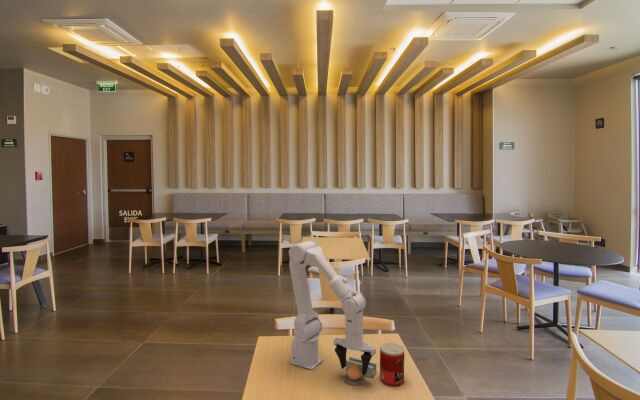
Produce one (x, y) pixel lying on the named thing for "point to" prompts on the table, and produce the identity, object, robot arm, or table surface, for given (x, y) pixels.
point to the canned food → (392, 364)
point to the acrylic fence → (371, 367)
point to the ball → (354, 371)
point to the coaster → (354, 382)
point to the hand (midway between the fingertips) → (354, 370)
